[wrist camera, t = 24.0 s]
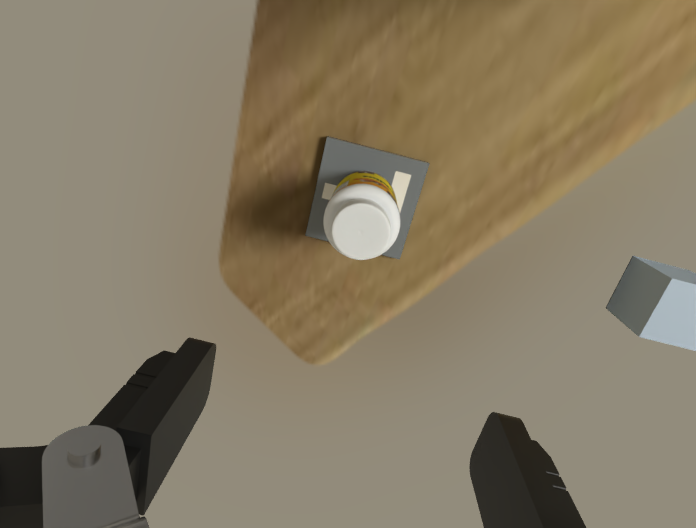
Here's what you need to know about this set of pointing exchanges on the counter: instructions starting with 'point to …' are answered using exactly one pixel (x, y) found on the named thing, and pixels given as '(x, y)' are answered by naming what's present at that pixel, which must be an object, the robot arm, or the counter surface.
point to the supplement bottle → (362, 216)
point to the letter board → (355, 157)
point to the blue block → (657, 302)
